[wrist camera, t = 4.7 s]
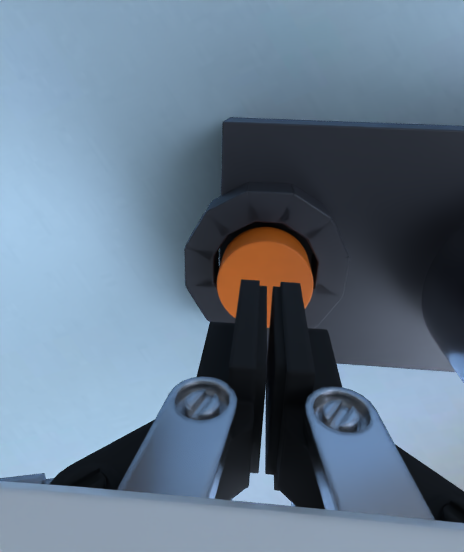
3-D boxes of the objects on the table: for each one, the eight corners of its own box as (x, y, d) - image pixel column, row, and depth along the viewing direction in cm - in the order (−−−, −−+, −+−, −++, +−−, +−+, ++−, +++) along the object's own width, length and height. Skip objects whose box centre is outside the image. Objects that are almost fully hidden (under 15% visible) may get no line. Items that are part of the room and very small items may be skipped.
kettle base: (202, 320, 23) (186, 376, 18) (202, 116, 18) (181, 123, 14) (512, 341, 22) (576, 406, 17) (593, 130, 17) (709, 142, 13)
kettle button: (220, 303, 17) (215, 325, 16) (222, 224, 16) (217, 238, 14) (304, 309, 17) (308, 331, 15) (314, 228, 15) (319, 243, 14)
